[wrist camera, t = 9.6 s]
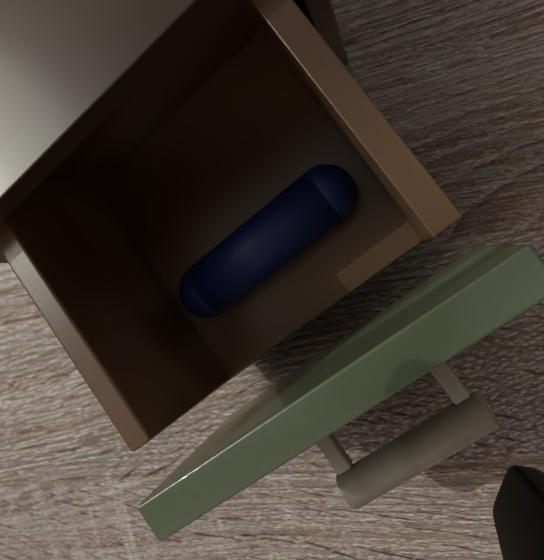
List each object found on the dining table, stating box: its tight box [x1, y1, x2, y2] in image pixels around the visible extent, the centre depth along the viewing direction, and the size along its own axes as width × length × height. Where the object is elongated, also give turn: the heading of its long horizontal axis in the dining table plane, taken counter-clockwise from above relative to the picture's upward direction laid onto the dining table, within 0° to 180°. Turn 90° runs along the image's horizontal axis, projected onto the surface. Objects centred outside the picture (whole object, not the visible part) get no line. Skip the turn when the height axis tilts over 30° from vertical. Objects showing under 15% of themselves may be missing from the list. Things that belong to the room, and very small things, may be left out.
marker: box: [179, 164, 357, 318], centre depth 18 cm, size 8×2×2 cm
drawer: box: [0, 0, 544, 541], centre depth 16 cm, size 18×12×8 cm
